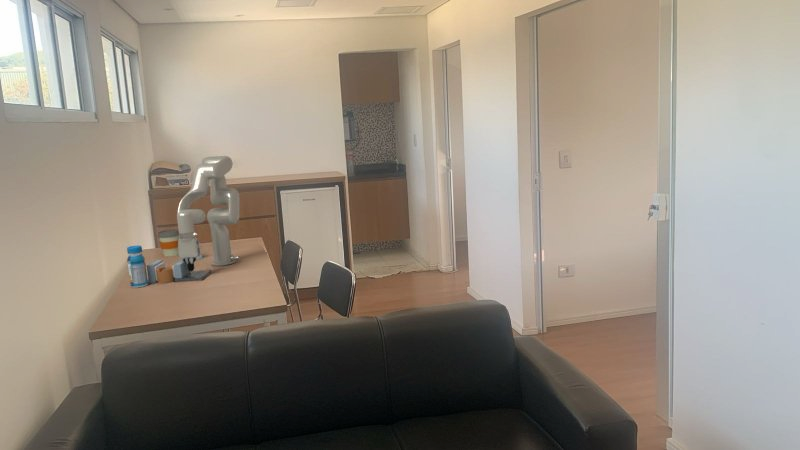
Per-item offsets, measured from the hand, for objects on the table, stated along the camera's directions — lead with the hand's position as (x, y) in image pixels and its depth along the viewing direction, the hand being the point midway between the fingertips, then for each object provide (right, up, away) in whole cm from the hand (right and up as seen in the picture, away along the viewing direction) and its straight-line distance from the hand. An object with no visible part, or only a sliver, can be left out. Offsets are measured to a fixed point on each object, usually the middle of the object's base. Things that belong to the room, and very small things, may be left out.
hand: (191, 270), depth 320 cm
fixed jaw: (-18, -5, +1) cm, 18 cm away
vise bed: (+1, -3, +1) cm, 4 cm away
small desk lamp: (-14, +3, +48) cm, 50 cm away
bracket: (-11, -5, 0) cm, 12 cm away
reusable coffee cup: (-34, +5, +65) cm, 73 cm away
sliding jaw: (-4, -2, 0) cm, 5 cm away
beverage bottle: (-22, -7, -10) cm, 26 cm away
